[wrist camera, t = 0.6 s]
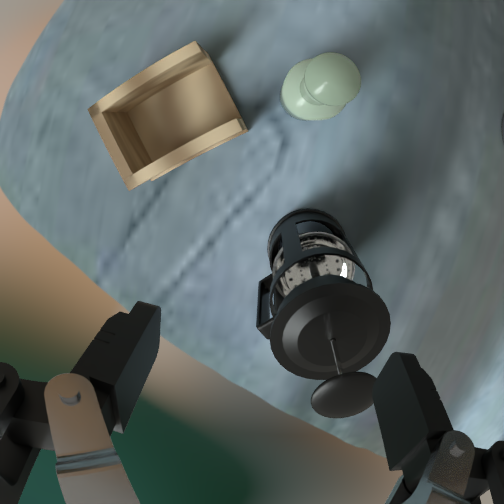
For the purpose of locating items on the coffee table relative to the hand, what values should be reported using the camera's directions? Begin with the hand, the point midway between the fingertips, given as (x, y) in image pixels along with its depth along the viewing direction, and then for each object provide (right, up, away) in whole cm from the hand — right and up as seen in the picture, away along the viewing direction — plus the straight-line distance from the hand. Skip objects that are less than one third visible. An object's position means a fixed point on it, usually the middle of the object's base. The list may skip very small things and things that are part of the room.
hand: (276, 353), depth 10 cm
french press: (+5, +4, +27) cm, 28 cm away
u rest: (-9, +18, +22) cm, 30 cm away
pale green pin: (+5, +20, +20) cm, 29 cm away
